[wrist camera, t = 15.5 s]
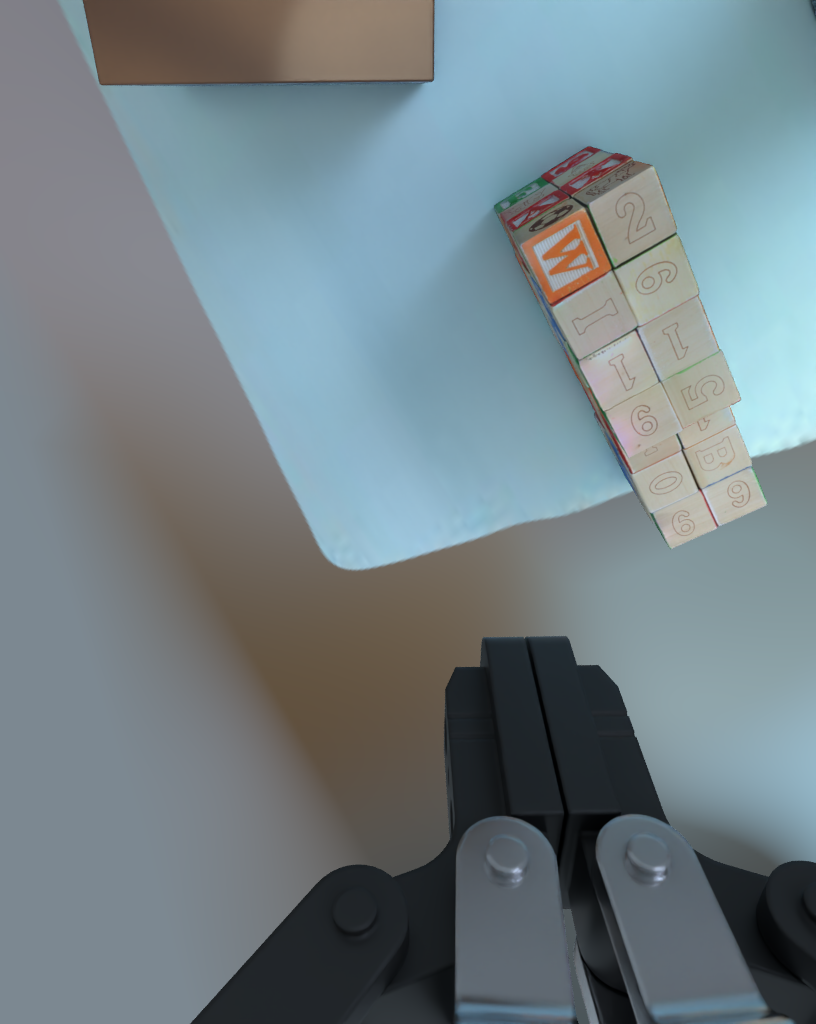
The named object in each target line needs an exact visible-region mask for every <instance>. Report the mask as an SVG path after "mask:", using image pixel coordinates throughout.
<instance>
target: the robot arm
mask: <svg viewBox="0 0 816 1024" xmlns="http://www.w3.org/2000/svg"><path fill="white" fill-rule="evenodd" d="M812 2H813V7H814V10H815V14H816V0H812ZM444 756H445V772H446V787H447V802H448V818H449V833H450V840H449V842H448V844H447V846H446V847H445V848H444V850H443V851H442V852H441V853H440V854H439V855H438V856H437V857H436V858H435V859H434V860H432V861H431V862H429V863H428V864H426V865H424V866H422V867H420V868H417V869H415V870H412V871H409V872H407V873H404V874H401V875H398V876H395V877H393V878H392V877H391V876H390V875H389V874H387V873H386V872H384V871H383V870H381V869H378V868H376V867H373V866H367V865H350V866H345V867H342V868H339V869H337V870H334V871H332V872H330V873H329V874H328V875H326V876H325V877H323V878H322V879H321V880H320V881H319V882H318V883H317V884H316V885H315V886H314V887H313V888H312V889H311V891H310V892H309V893H308V894H307V895H306V896H305V897H304V898H303V900H301V902H300V903H299V904H298V905H297V906H296V907H295V908H294V909H293V910H292V912H291V913H290V914H289V915H288V916H287V917H286V918H285V919H284V921H283V922H282V923H281V924H280V925H279V926H278V927H277V928H276V929H275V930H274V932H273V933H272V934H271V935H270V936H269V937H268V938H267V939H266V940H265V942H264V943H263V944H262V945H261V946H260V947H259V948H258V949H257V950H256V952H255V953H254V954H253V955H252V956H251V957H250V958H249V959H248V960H247V961H246V963H245V964H244V965H243V966H242V967H241V968H240V969H239V970H238V972H237V973H236V974H235V975H234V976H233V977H232V978H231V979H230V980H229V981H228V983H227V984H226V985H225V986H224V987H223V988H222V989H221V990H220V991H219V993H218V994H217V995H216V996H215V997H214V998H213V999H212V1000H211V1001H210V1003H209V1004H208V1005H207V1006H206V1007H205V1008H204V1009H203V1010H202V1011H201V1012H200V1014H199V1015H198V1016H197V1017H196V1018H195V1019H194V1020H193V1021H192V1023H191V1024H578V1021H577V1017H576V1012H575V1005H574V997H573V989H572V981H571V973H570V965H569V957H568V948H567V940H566V932H565V924H564V916H563V909H571V911H572V916H573V921H574V926H575V930H576V939H575V945H574V950H573V960H574V965H575V969H576V973H577V977H578V981H579V984H580V988H581V992H582V995H583V999H584V1003H585V1007H586V1010H587V1014H588V1018H589V1022H590V1024H816V863H814V862H809V861H791V862H787V863H784V864H782V865H780V866H778V867H777V868H776V869H775V870H774V871H772V873H771V875H770V876H769V877H767V876H763V875H760V874H757V873H753V872H750V871H746V870H743V869H739V868H736V867H732V866H729V865H725V864H723V863H720V862H717V861H714V860H712V859H710V858H708V857H706V856H704V855H702V854H700V853H699V852H697V851H696V850H694V849H693V848H692V847H691V845H690V844H689V843H688V841H687V840H686V839H685V838H684V837H683V836H682V835H681V834H680V833H679V832H678V831H677V830H675V829H674V828H673V827H671V826H670V824H669V822H668V821H667V819H666V816H665V814H664V812H663V809H662V807H661V804H660V801H659V798H658V795H657V793H656V790H655V787H654V784H653V782H652V779H651V776H650V773H649V771H648V768H647V765H646V763H645V760H644V757H643V754H642V751H641V749H640V746H639V743H638V740H637V738H636V737H635V736H634V730H633V727H632V724H631V721H630V718H629V716H627V710H626V707H625V705H624V702H623V699H622V696H621V694H620V691H619V688H618V686H617V685H616V684H615V683H614V682H613V681H612V680H611V678H610V677H609V676H608V675H607V674H606V673H605V672H604V671H603V670H602V669H601V668H600V666H598V665H582V666H581V665H577V664H576V661H575V657H574V654H573V651H572V648H571V644H570V641H569V639H568V638H567V637H566V636H551V637H550V636H545V637H525V639H524V637H484V638H483V639H482V645H481V661H480V667H456V668H455V670H454V672H453V674H452V676H451V678H450V681H449V683H448V685H447V687H446V689H445V724H444Z"/></svg>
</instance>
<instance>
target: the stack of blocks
mask: <svg viewBox="0 0 816 1024" xmlns="http://www.w3.org/2000/svg"><path fill="white" fill-rule="evenodd" d="M494 209H495V211H496V213H497V215H498V217H499V219H500V221H501V223H502V225H503V227H504V230H505V232H506V234H507V236H508V238H509V240H510V242H511V244H512V246H513V248H514V250H515V256H516V258H517V260H518V262H519V264H520V266H521V268H522V270H523V272H524V274H525V276H526V278H527V280H528V282H529V284H530V286H531V288H532V290H533V292H534V295H535V296H536V298H537V301H538V303H539V305H540V307H541V309H542V311H543V314H544V316H545V318H546V320H547V322H548V324H549V326H550V328H551V330H552V332H553V334H554V336H555V338H556V339H557V341H558V342H559V344H560V345H561V347H562V348H563V350H564V352H565V354H566V356H567V358H568V360H569V362H570V364H571V366H572V368H573V370H574V372H575V374H576V376H577V378H578V380H579V381H580V383H581V385H582V387H583V389H584V391H585V393H586V395H587V397H588V399H589V401H590V403H591V405H592V407H593V409H594V411H595V413H594V416H595V418H596V420H597V422H598V424H599V426H600V428H601V430H602V432H603V434H604V436H605V438H606V440H607V442H608V444H609V446H610V448H611V450H612V452H613V453H614V455H615V457H616V459H617V461H618V463H619V465H620V467H621V469H622V471H623V473H624V475H625V477H626V479H627V480H628V482H629V484H630V485H631V487H632V489H633V490H634V492H635V494H636V496H637V497H638V499H639V501H640V503H641V505H642V506H643V508H644V510H645V512H646V513H647V515H648V517H649V518H650V520H651V521H652V523H654V524H656V526H657V528H658V530H659V531H660V533H661V535H662V536H663V538H664V540H665V542H666V543H667V545H668V547H669V548H670V549H672V548H674V547H677V546H679V545H681V544H683V543H685V542H688V541H690V540H692V539H694V538H696V537H699V536H701V535H703V534H706V533H708V532H710V531H712V530H715V529H716V528H717V527H718V526H720V525H723V524H726V523H728V522H730V521H732V520H735V519H737V518H739V517H742V516H743V515H746V514H748V513H750V512H753V511H754V510H757V509H759V508H761V507H763V506H766V505H767V500H766V498H765V496H764V493H763V491H762V488H761V486H760V484H759V481H758V478H757V476H756V474H755V472H754V469H753V468H752V466H751V465H752V462H751V459H750V456H749V454H748V451H747V449H746V446H745V444H744V441H743V439H742V436H741V434H740V432H739V429H738V426H737V425H736V421H735V418H734V416H733V413H732V410H731V408H730V406H731V405H733V404H735V403H737V402H738V401H740V400H741V397H740V395H739V392H738V390H737V387H736V385H735V382H734V380H733V377H732V375H731V372H730V370H729V367H728V365H727V362H726V360H725V357H724V354H723V352H722V351H721V350H720V349H719V347H718V344H717V341H716V339H715V336H714V333H713V331H712V328H711V326H710V323H709V321H708V319H707V316H706V313H705V310H704V308H703V305H702V303H701V301H700V299H699V296H698V295H699V288H698V285H697V282H696V280H695V277H694V274H693V272H692V269H691V267H690V264H689V262H688V259H687V256H686V254H685V251H684V248H683V245H682V243H681V240H680V238H679V236H678V235H677V233H676V231H677V228H676V224H675V221H674V219H673V216H672V213H671V210H670V207H669V205H668V202H667V199H666V196H665V194H664V191H663V188H662V185H661V183H660V180H659V177H658V175H657V172H656V170H655V168H654V167H653V166H652V165H650V164H646V163H642V162H638V161H633V159H632V157H629V156H627V155H622V154H618V153H615V154H613V153H608V152H605V151H602V150H600V149H597V148H593V147H587V148H585V149H583V150H581V151H580V152H578V153H577V154H575V155H573V156H572V157H570V158H568V159H567V160H565V161H564V162H562V163H560V164H559V165H557V166H556V167H554V168H552V169H551V170H549V171H548V172H546V173H545V174H543V175H542V176H541V177H540V178H538V179H537V180H535V181H533V182H532V183H530V184H528V185H527V186H525V187H523V188H522V189H520V190H519V191H517V192H515V193H514V194H512V195H510V196H509V197H507V198H505V199H504V200H502V201H501V202H499V203H497V204H496V205H495V206H494Z"/></svg>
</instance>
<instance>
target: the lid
mask: <svg viewBox="0 0 816 1024" xmlns="http://www.w3.org/2000/svg"><path fill="white" fill-rule="evenodd" d="M83 4H84V9H85V14H86V19H87V24H88V28H89V33H90V38H91V43H92V48H93V53H94V58H95V63H96V68H97V73H98V78H99V83H100V84H101V85H179V84H274V83H369V82H432V81H433V80H434V0H83Z"/></svg>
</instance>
